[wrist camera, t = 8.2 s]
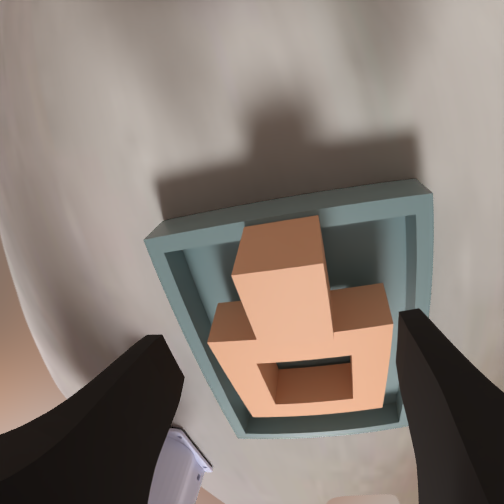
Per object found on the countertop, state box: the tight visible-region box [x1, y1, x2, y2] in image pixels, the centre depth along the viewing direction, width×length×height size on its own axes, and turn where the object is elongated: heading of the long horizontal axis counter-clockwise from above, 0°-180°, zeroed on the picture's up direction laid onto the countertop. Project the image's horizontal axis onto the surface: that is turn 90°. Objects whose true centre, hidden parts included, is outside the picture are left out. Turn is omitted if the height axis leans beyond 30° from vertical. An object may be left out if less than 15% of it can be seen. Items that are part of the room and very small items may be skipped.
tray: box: [144, 179, 434, 439], centre depth 17 cm, size 17×13×2 cm
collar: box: [207, 215, 393, 417], centre depth 15 cm, size 12×8×3 cm, turn 14°
